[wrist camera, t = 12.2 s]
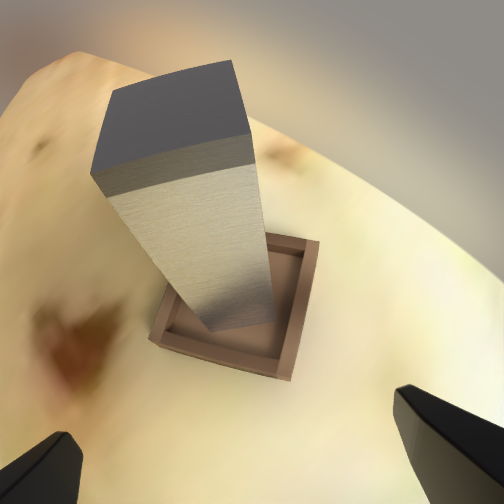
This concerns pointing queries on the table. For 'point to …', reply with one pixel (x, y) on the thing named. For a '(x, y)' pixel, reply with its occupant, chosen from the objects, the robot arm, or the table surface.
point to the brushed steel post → (191, 190)
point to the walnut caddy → (256, 336)
